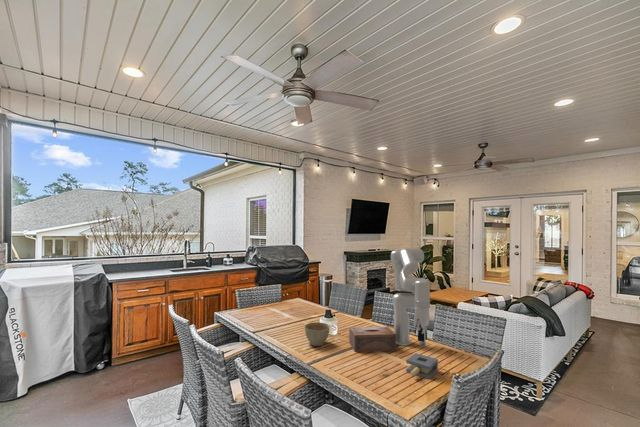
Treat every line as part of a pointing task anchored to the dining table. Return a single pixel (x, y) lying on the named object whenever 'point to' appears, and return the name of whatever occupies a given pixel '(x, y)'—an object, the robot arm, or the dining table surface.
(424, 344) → the steel pin
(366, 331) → the tissue box cover
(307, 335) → the planter bowl
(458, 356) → the dining table surface
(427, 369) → the clevis bracket
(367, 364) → the dining table surface
